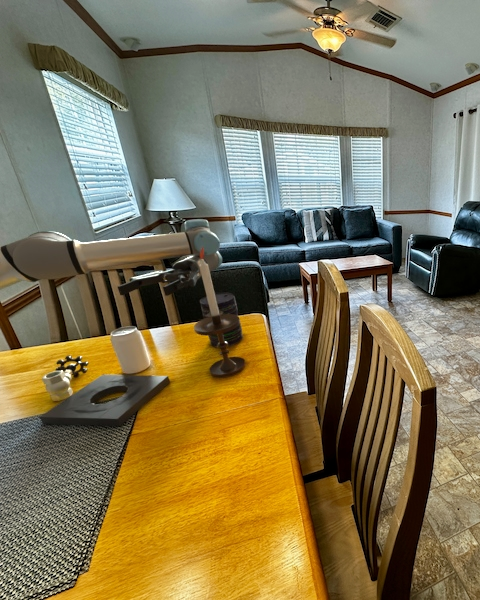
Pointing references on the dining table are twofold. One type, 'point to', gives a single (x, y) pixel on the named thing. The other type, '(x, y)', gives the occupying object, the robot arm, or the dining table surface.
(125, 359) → the can
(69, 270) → the robot arm
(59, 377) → the valve
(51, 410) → the plate
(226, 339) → the storage jar
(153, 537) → the dining table surface
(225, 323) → the candlestick
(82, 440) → the dining table surface
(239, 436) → the dining table surface
